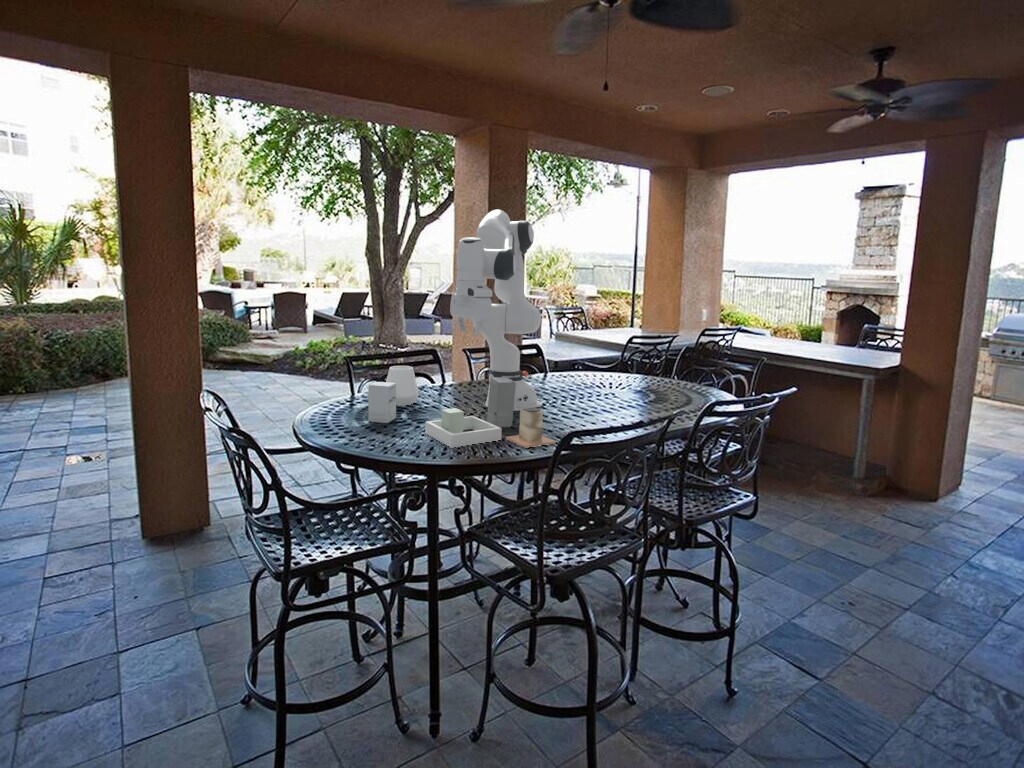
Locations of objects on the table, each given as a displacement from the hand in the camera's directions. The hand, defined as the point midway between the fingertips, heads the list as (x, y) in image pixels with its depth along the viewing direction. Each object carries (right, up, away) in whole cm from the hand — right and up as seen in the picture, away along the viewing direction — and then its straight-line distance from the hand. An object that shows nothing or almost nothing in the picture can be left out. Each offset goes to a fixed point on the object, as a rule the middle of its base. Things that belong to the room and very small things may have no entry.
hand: (469, 332), depth 201 cm
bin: (-2, -33, -6) cm, 34 cm away
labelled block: (+19, -33, -9) cm, 40 cm away
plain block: (-5, -34, -8) cm, 35 cm away
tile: (+19, -34, -9) cm, 41 cm away
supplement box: (-30, -29, +11) cm, 44 cm away
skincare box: (+10, -31, +11) cm, 34 cm away
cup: (-29, -24, +37) cm, 53 cm away
